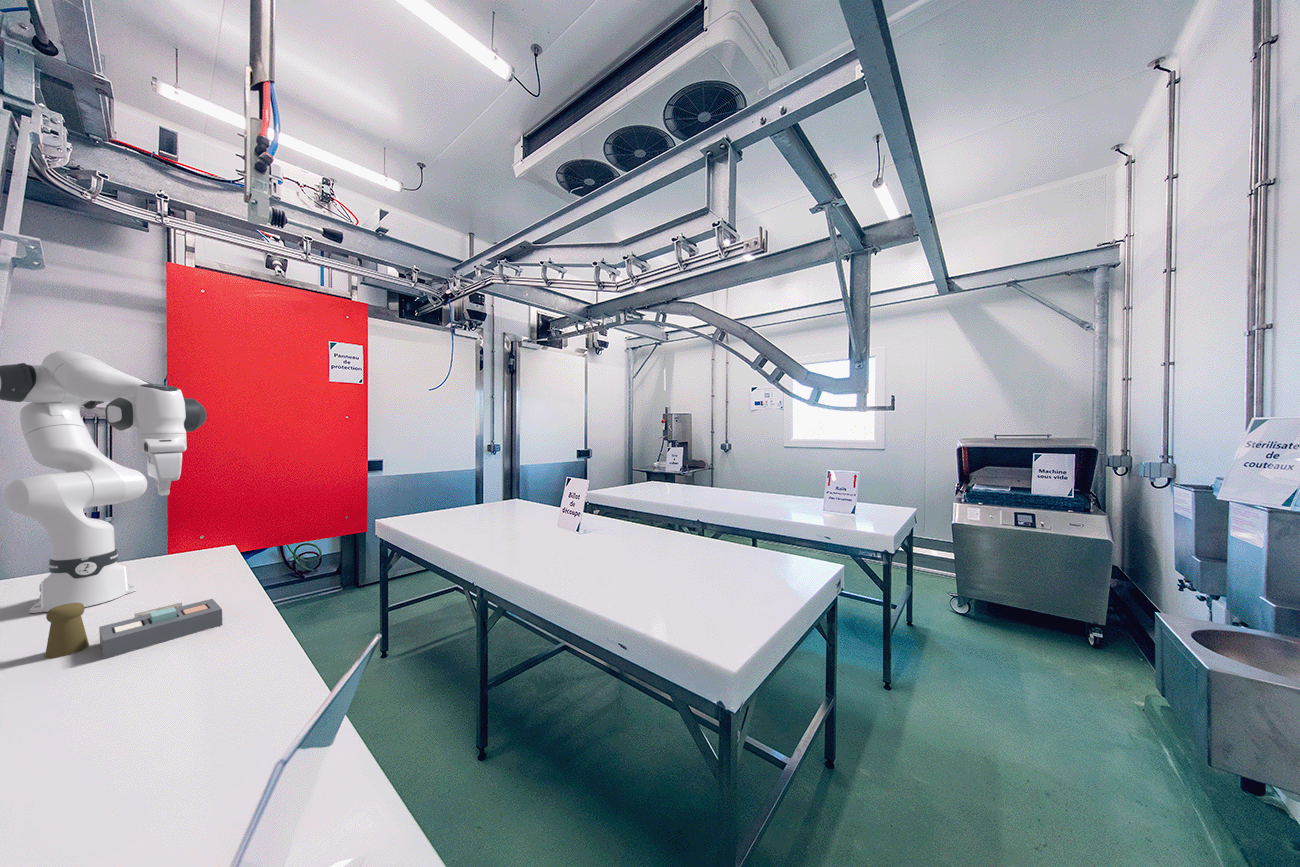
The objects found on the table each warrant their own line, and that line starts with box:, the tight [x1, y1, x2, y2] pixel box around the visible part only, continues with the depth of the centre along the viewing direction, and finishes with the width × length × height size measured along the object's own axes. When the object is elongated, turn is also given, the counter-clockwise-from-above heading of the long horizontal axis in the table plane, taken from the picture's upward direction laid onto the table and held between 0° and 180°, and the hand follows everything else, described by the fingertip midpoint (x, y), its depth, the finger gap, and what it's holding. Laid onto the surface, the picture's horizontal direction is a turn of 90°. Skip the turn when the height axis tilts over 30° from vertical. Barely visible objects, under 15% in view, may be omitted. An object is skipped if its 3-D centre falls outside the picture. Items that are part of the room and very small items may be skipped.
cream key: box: [114, 621, 143, 633], centre depth 99 cm, size 4×4×3 cm
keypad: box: [98, 598, 223, 660], centre depth 105 cm, size 13×19×5 cm
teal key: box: [150, 607, 177, 624], centre depth 104 cm, size 4×4×3 cm
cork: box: [44, 603, 90, 659], centre depth 96 cm, size 6×6×11 cm
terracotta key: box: [183, 604, 208, 615], centre depth 109 cm, size 4×4×3 cm
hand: (163, 494), depth 111 cm, fingers closed
